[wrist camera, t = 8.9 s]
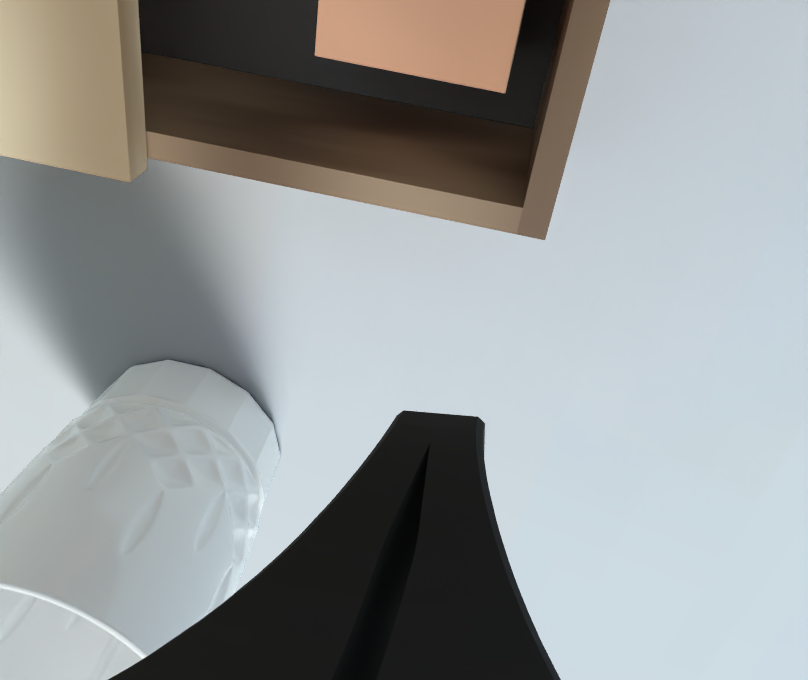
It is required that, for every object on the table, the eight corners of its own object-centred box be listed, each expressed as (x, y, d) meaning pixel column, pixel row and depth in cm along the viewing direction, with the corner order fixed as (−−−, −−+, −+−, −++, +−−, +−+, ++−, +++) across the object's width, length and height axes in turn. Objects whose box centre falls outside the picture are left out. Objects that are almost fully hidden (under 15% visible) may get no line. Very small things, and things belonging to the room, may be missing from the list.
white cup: (105, 308, 26) (-114, 534, 18) (324, 399, 26) (210, 660, 18) (80, 462, 30) (-103, 699, 22) (267, 537, 31) (155, 796, 22)
